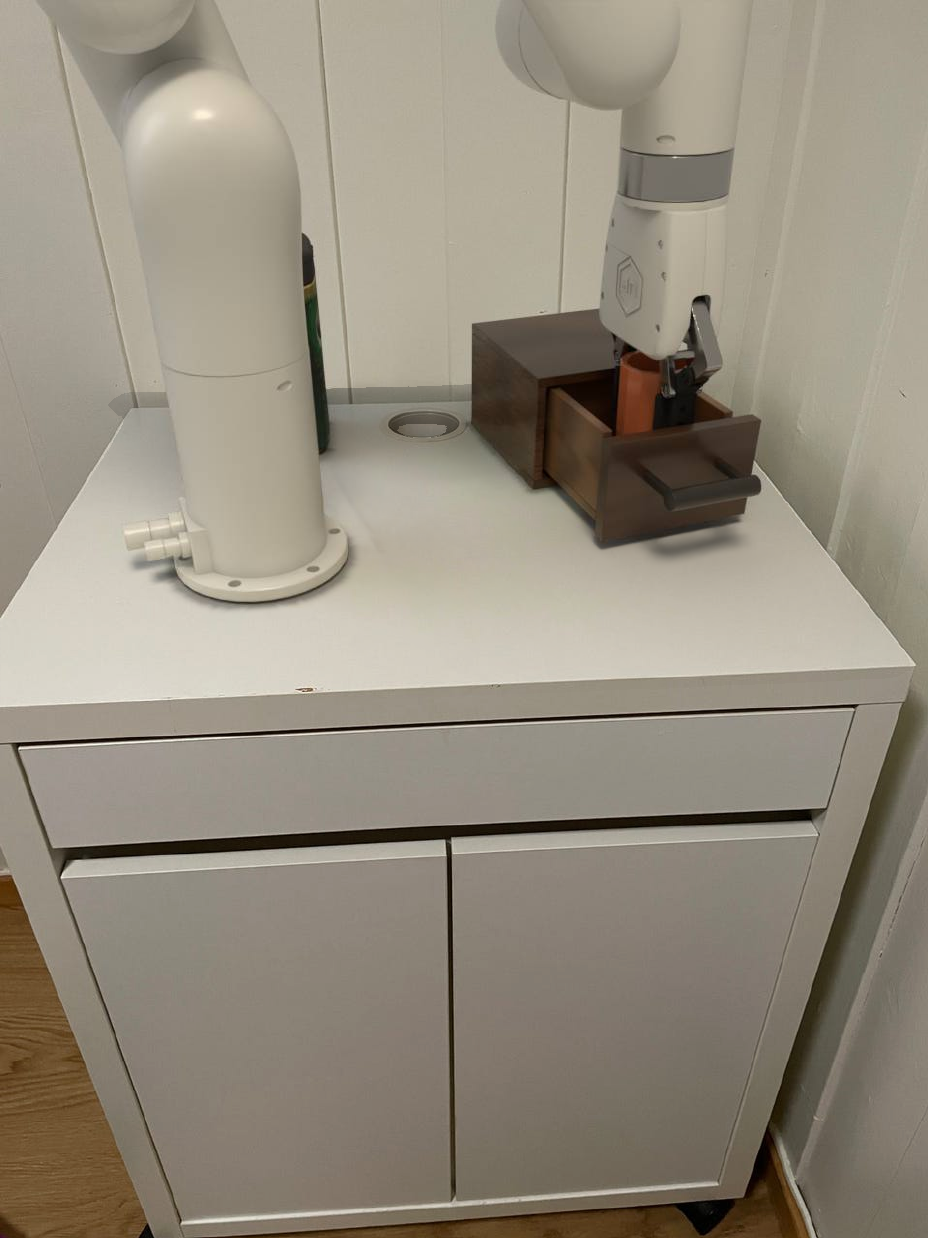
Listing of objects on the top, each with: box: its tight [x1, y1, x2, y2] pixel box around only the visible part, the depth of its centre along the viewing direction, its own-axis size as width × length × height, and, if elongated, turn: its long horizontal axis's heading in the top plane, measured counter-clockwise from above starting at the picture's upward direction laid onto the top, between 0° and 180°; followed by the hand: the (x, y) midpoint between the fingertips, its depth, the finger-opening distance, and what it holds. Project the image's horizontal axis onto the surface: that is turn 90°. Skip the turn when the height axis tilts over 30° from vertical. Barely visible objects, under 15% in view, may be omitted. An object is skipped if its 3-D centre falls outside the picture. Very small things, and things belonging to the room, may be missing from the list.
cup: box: [615, 350, 687, 436], centre depth 75 cm, size 5×6×6 cm
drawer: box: [542, 377, 762, 542], centre depth 75 cm, size 18×12×8 cm
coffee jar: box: [302, 232, 331, 453], centre depth 84 cm, size 10×8×19 cm
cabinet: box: [470, 307, 620, 490], centre depth 86 cm, size 15×14×10 cm
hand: (650, 424), depth 76 cm, fingers closed on cup, 5 cm apart
